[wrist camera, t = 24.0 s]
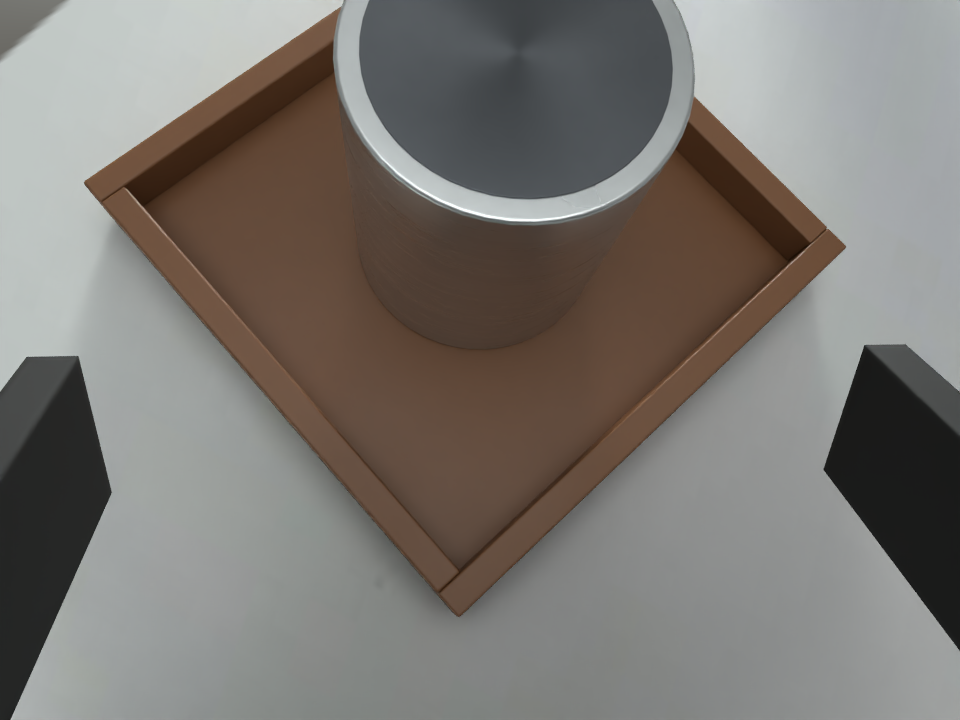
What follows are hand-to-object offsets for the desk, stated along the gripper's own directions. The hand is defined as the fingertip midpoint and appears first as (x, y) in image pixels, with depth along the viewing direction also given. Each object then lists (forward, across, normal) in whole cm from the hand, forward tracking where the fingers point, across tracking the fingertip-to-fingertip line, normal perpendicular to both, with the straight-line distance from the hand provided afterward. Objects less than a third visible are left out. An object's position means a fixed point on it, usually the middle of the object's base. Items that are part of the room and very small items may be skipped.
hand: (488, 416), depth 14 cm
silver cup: (+12, +1, -1) cm, 12 cm away
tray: (+12, +1, -2) cm, 12 cm away
